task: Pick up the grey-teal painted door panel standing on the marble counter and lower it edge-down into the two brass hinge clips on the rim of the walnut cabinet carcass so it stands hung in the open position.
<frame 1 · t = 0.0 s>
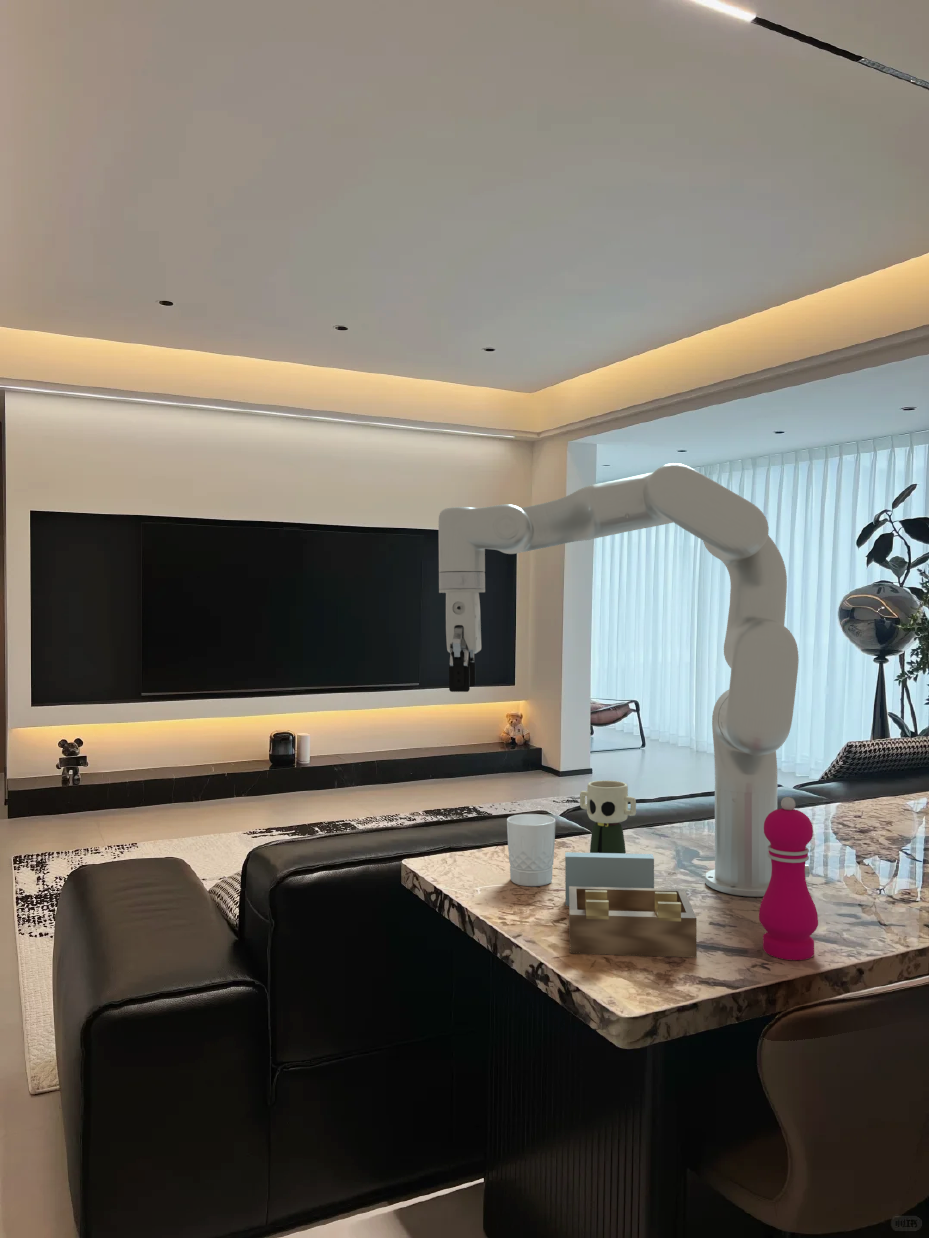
hand: (462, 688, 152), 31 cm above the table, tool pointing down, fingers open, 9 cm apart
carcass: (629, 938, 125), on the table
white cup: (531, 881, 151), on the table
door: (609, 905, 139), on the table
pepper mill: (788, 952, 120), on the table
character mug: (607, 858, 165), on the table
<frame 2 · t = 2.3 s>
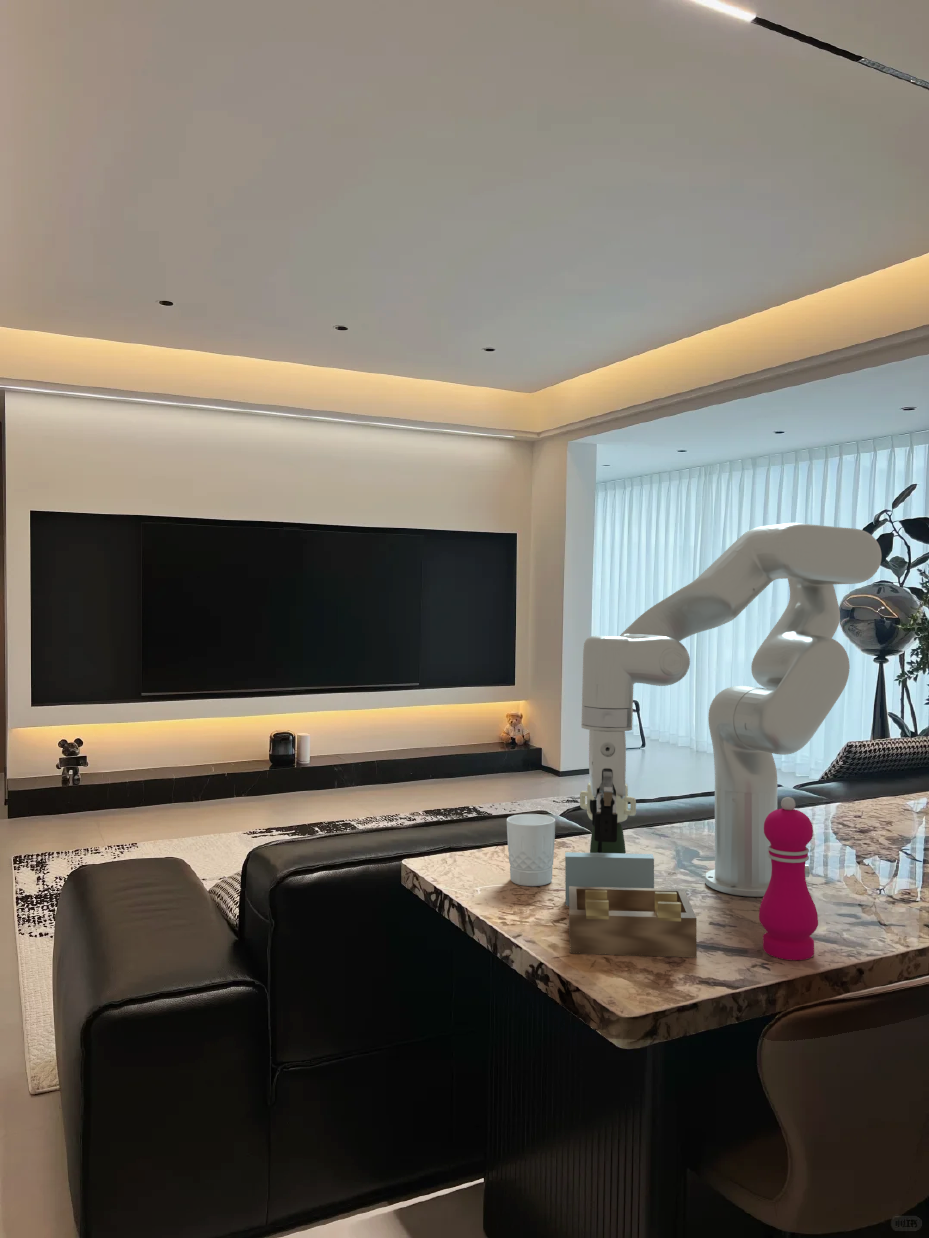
hand: (603, 833, 139), 11 cm above the table, tool pointing down, fingers open, 9 cm apart
nothing on the table moved.
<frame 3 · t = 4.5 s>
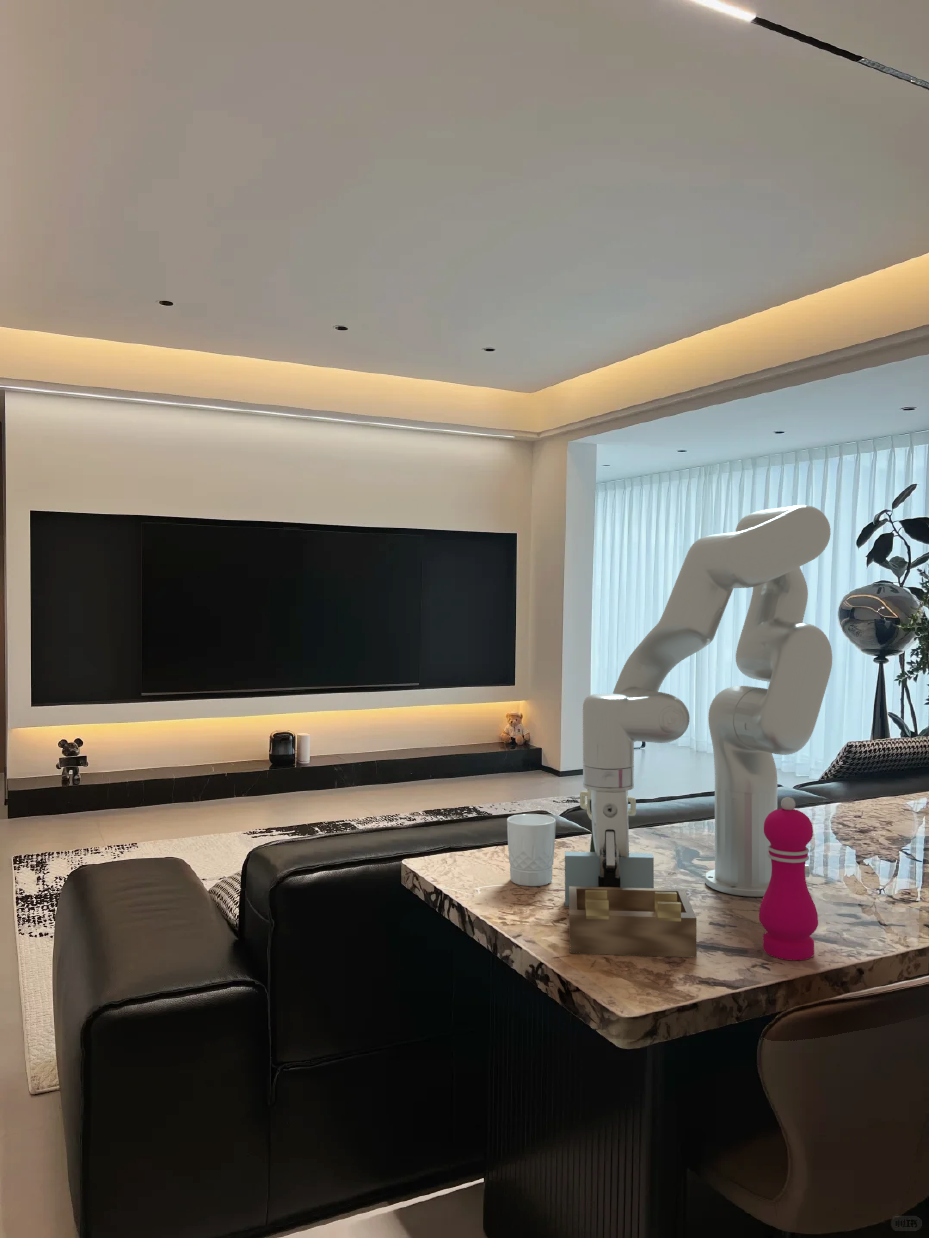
hand: (608, 898, 139), 1 cm above the table, tool pointing down, fingers closed on door, 2 cm apart
door: (608, 904, 139), on the table, touching gripper
everything else where it was.
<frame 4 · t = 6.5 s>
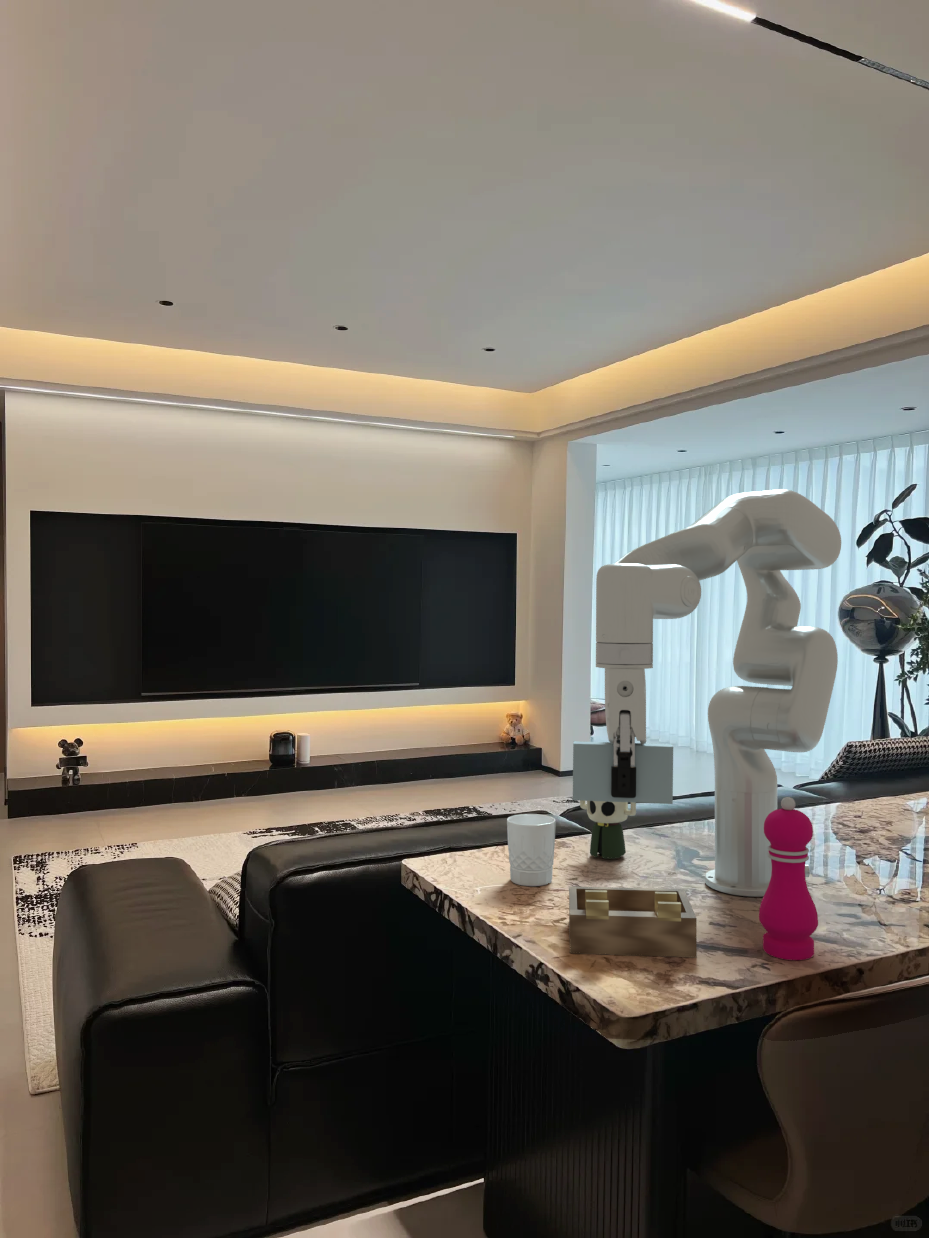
hand: (623, 793, 124), 20 cm above the table, tool pointing down, fingers closed on door, 2 cm apart
door: (621, 800, 124), point 19 cm above the table, touching gripper
everything else where it was.
when the fingers open (7 cm above the table, at t = 8.7 s): door stays where it is, resting on carcass.
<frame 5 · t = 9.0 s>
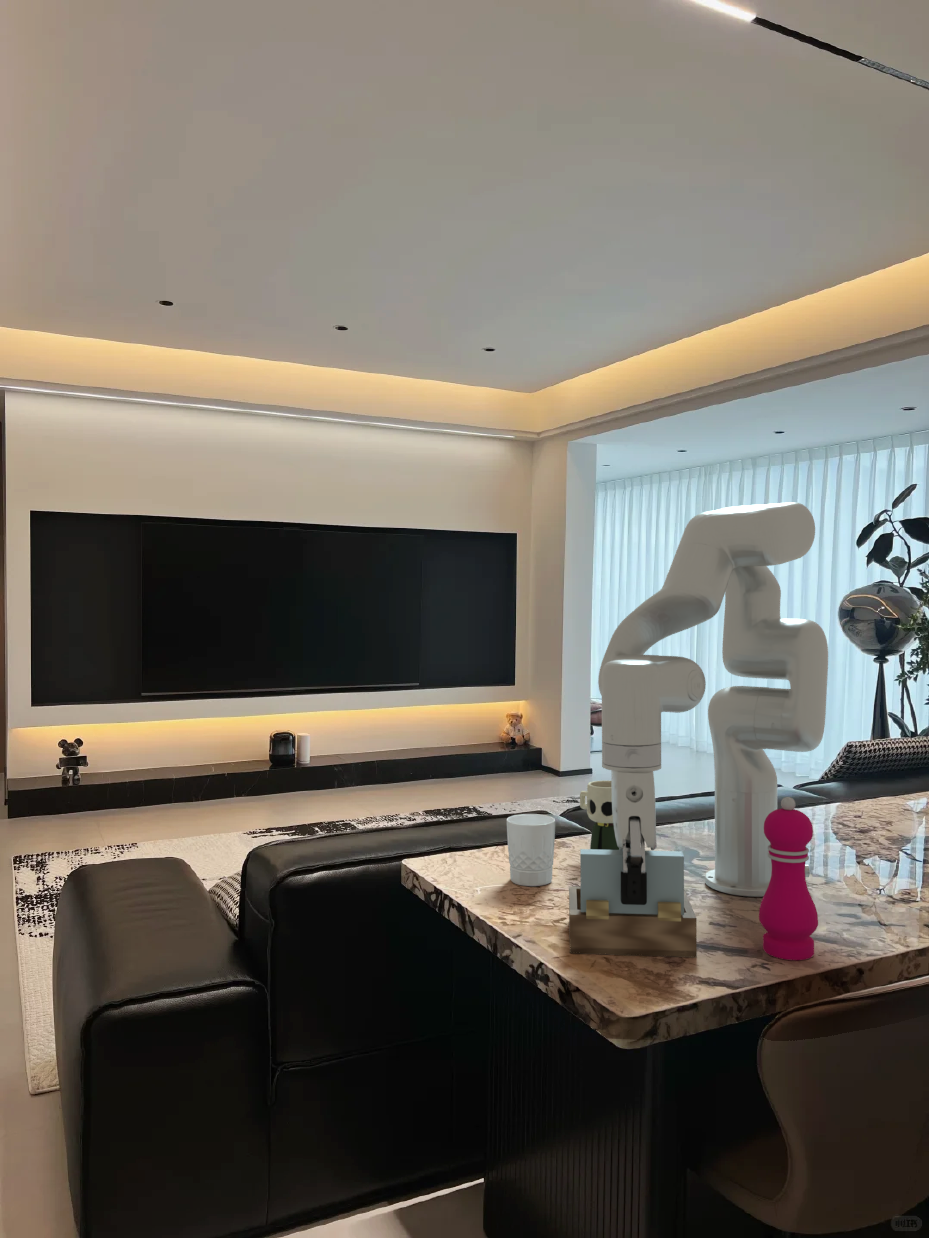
hand: (632, 894, 120), 7 cm above the table, tool pointing down, fingers open, 5 cm apart
door: (631, 910, 120), point 5 cm above the table, touching carcass
everything else where it was.
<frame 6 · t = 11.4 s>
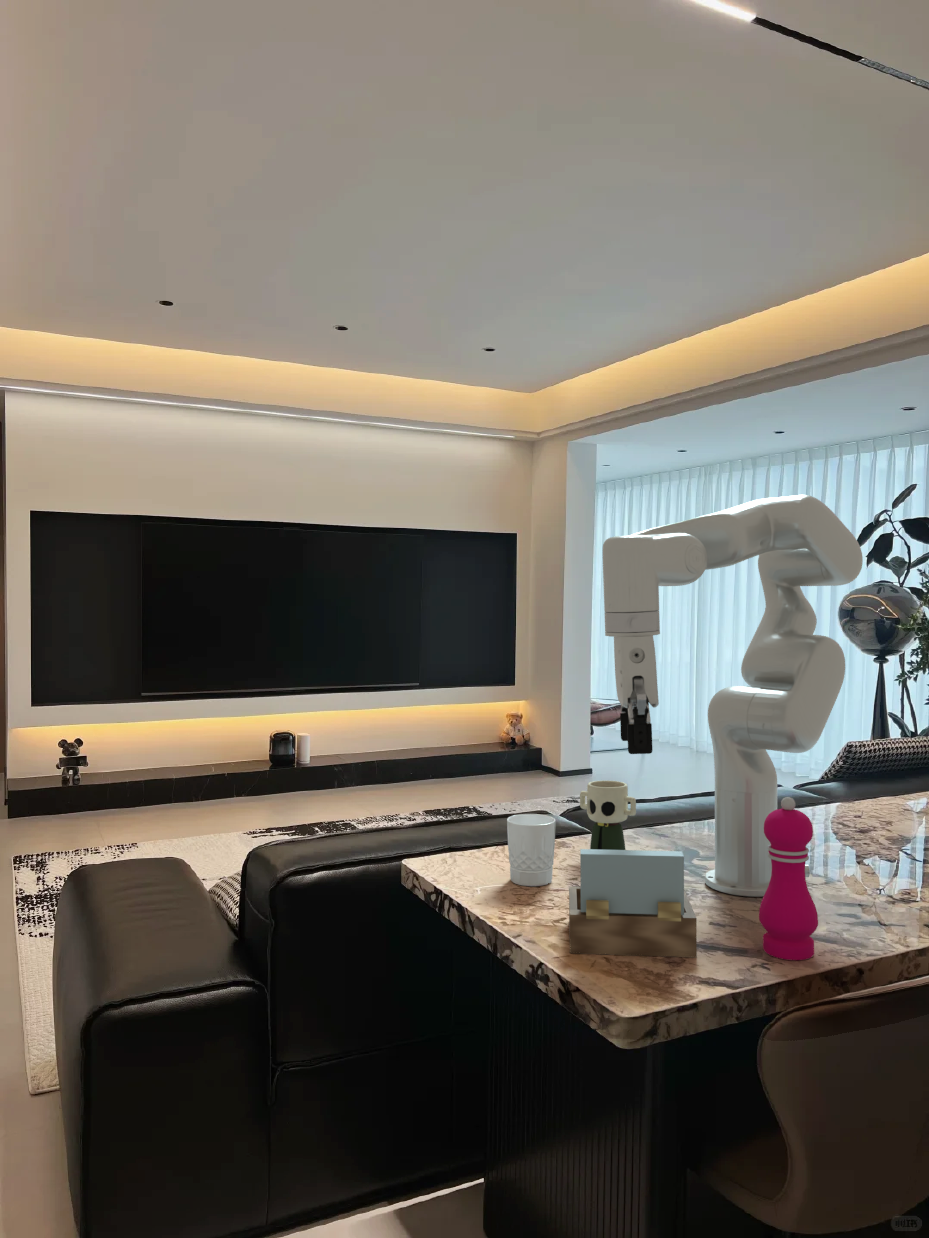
hand: (636, 746, 130), 25 cm above the table, tool pointing down, fingers open, 9 cm apart
nothing on the table moved.
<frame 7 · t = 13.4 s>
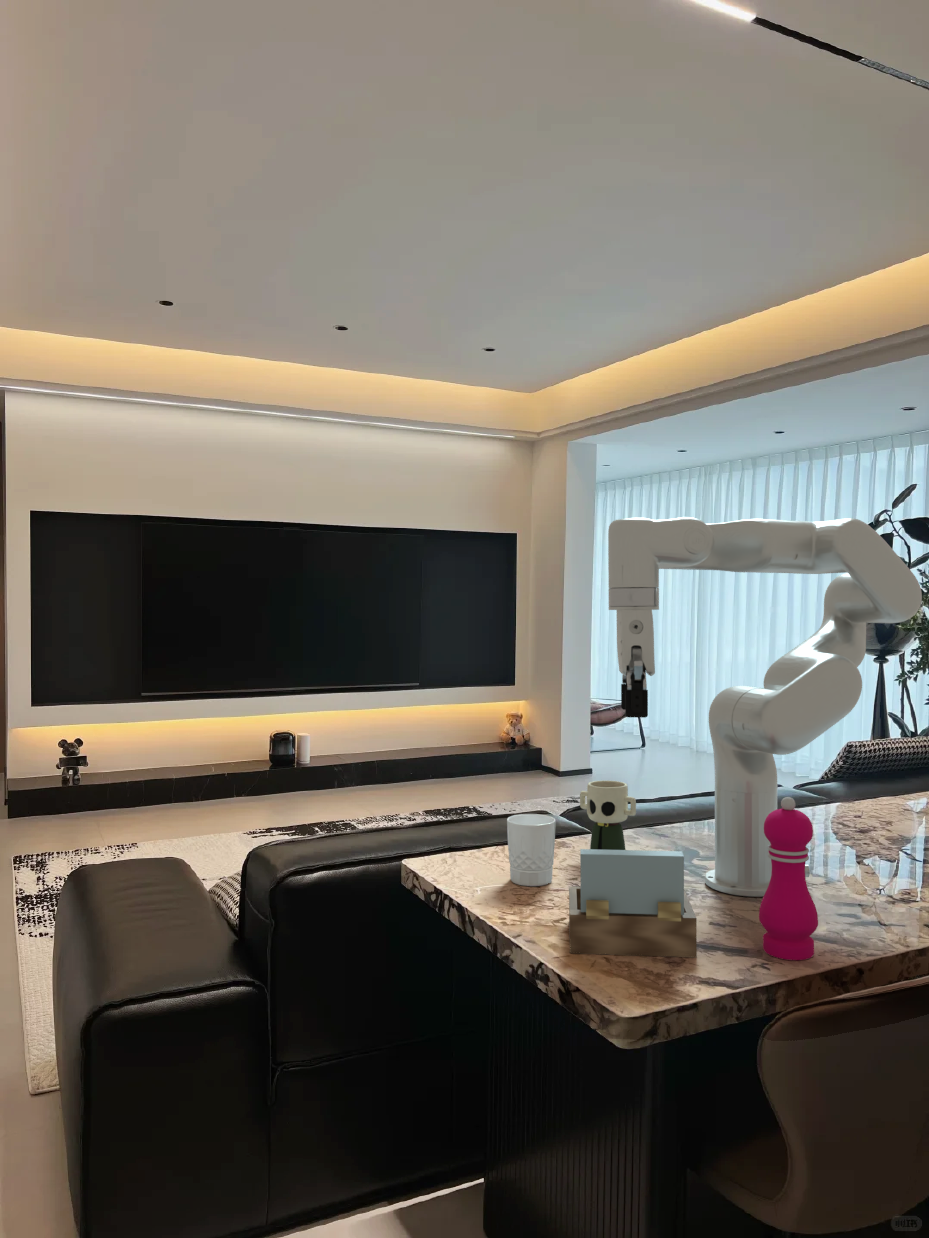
hand: (634, 713, 141), 28 cm above the table, tool pointing down, fingers open, 9 cm apart
nothing on the table moved.
at the end: door 0.1 cm from the target spot on the carcass, point 5.4 cm above the carcass's base; door tilted 0°; the gripper is holding nothing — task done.
